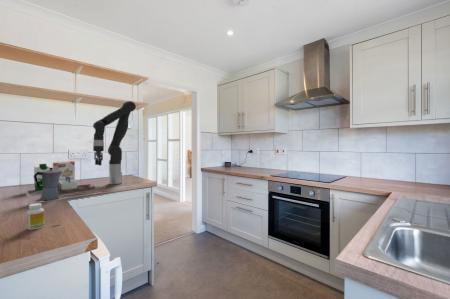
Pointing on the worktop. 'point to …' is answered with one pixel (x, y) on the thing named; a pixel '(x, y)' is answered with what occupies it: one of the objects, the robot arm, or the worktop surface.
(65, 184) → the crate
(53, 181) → the moka pot
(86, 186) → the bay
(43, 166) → the milk carton
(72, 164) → the cracker box
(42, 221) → the supplement bottle
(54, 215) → the worktop surface
